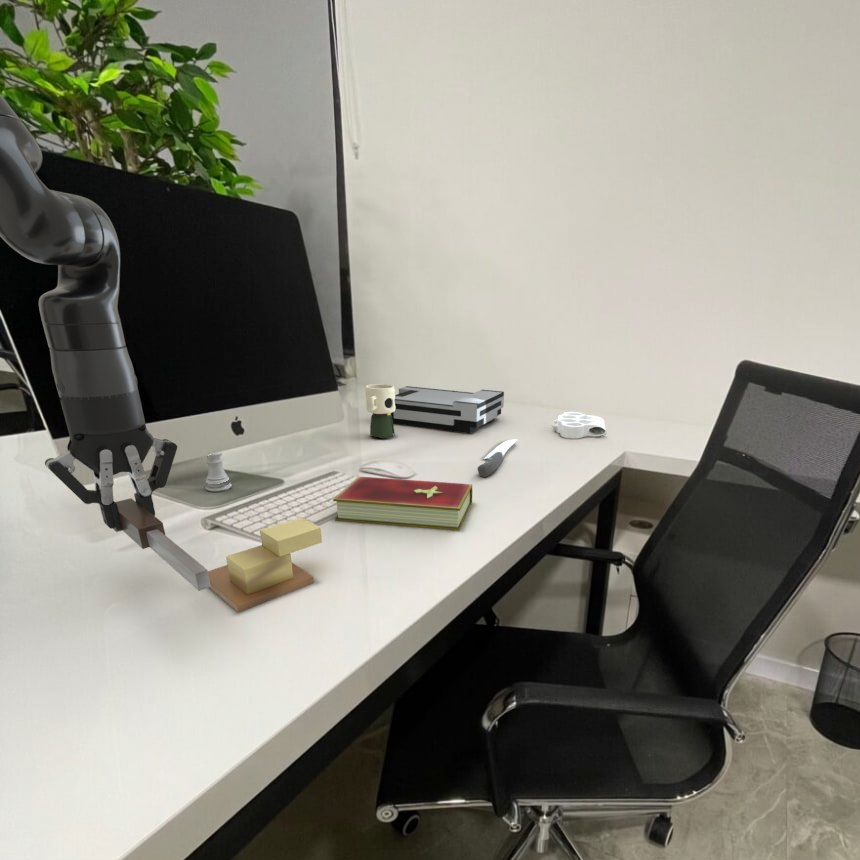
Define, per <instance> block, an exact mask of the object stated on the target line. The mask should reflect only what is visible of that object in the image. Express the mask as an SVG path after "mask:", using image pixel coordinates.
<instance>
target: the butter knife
mask: <svg viewBox="0 0 860 860" xmlns="http://www.w3.org/2000/svg"><path fill="white" fill-rule="evenodd" d="M115 502H116V503H117V506H118V510H119V517H120V521H121V525H122V529H123V530H122V531H123V533H125V535H127V536H128V538H130V539H131V541H133V542H135V544H137V546H139V547H140V548H141V549H142V550H144V549H148V548H150V549H151V550H152V551H153V552H154V553H155V554H156V555H157V556H159V557H160V559H162V560H163V561H165V563H167V564H168V565H169V567H171V568H172V569H173V570H174V571H176V572H177V574H179V575H180V576H181V577H182V578H183V579H184V580H185V581H187V582H188V583H189V584H190V585H191V586H192V587H194V588H195V590H197V591H198V592H200V591H203V590H206V589H208V588H209V587H211V585H210V580H209V575H208V571H209V570H208V569H207V568H206V567H205V566H203V564H201V563H200V562H199V561H198V560H196V559H195V557H194V558H193V556H192V555H190V553H187V552H186V551H185V550H184V549H182V548H181V547H180V545H178V544H177V543H175V542H174V541H173V540H172V539H170V537H168V536H167V535H166V532H165V531H166V530H165V526H164V523H163V522H162V521H161V520H160V519H159V518H157V517H156V515H155V516H153V515H152V514H151V513H150V512H148V511H147V510H146V509H144V508H143V507H142V506H140V505H139V504H138V503H137V502H136V500H135V499H133V498H126V499H121V500H117V501H115ZM122 531H121V532H122ZM209 589H210V588H209Z"/></svg>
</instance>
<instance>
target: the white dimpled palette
mask: <svg viewBox="0 0 860 860" xmlns="http://www.w3.org/2000/svg"><path fill="white" fill-rule="evenodd" d="M552 422H553V423H554V424H552V425H551V427H552V428H554V429H555V432H556V433H558V434H560V437H561V438H564V439H569V440H571V439H572V440H577V439H582V438H585V437H586V438H587V437H590V438H591V437H592V438H595V437H602V436H604V435H605V434H606V432H607V429H606V424H605V419H603V418H602V417H600V416H597V415H591V414H590V415H588V414H584V413H583V412H577V411H565V412H563V413H562V414H559V415H557V416H556V419H554V420H552Z"/></svg>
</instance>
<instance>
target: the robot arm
mask: <svg viewBox="0 0 860 860" xmlns="http://www.w3.org/2000/svg"><path fill="white" fill-rule="evenodd" d="M43 159H44V158H43V151H42V149H41V148H40V145H39V143H38V142H37V140H36V138H35V137H34V136H33V133H32V132H30V130H29V129H28V127H27V126H26V125H25V123H23V121H22V120H21V118H20V117H19V115H18V114H17V113H16V112H15V110H14V109H13V108H12V106H10V104H9V103H8V101H7V100H6V98H5V97H4V96H3V95H2V94H1V93H0V238H1V239H2V240H3V241H4V242H5V243H6V244H7V245H8V246H9V247H10V248H11V249H13V250H14V252H16V253H18V254H20V256H22V257H24V258H26V259H28V260H29V261H32V262H34V263H38V264H42V265H51V266H57V270H58V271H57V285H56V287H55V288H54V289H51V290H49V291H47V292H45V293H43V294H42V295H40V297H39V299H38V308H39V310H38V311H39V314H40V318H41V322H42V326H43V331H44V335H45V338H46V341H47V345H48V348H49V354H50V363H51V370H52V376H53V377H54V378H53V379H54V383H55V386H56V390H57V393H58V397H59V401H60V405H61V409H62V412H63V415H64V416H63V417H64V419H65V423H66V428H67V431H68V434H69V441H68V443H67V446H66V448H67V450H66V451H65V452H63V453H61V454H60V455H58V456H56V457H55V458H53V457H49V458H47V459H46V460H45V461H44V466H45V467H46V468H48V470H49V471H50V472H51V473H53V475H54V476H55V477H56V478H58V480H60V481H61V482H62V483H63V484H64V485H65V486H66V487H67V488H68V489H69V490H70V491H71V492H72V493H73V494H74V495H75V496H76V497H77V498H78V499H79V500H81V502H83V503H84V504H85V505H90V504H98V505H99V508H100V512H101V516H102V520H103V523H104V524H105V525H106V526H107V527H108V528H109V529H110V530H111V529H112V530H114V532H116V533H118V532H122V530H123V529H122V525H121V521H120V517H119V510H118V506H117V503H116V502H117V501H114V500H115V499H114V488H113V487H114V483H115V482H114V476H115V475H117V474H121V473H126V474H127V476H128V477H129V479H130V482H131V484H132V486H133V489H134V491H135V493H133V495H134V501H135V502H137V503H138V504H139V505H140V506H142V507H143V508H144V509H146V510H147V511H148V512H150V513H151V514H152V515H153V516H155V517H156V509H155V505H154V501H153V496H152V495H153V493H154V491H156V490H158V489H163V488H165V486H166V485H167V481H168V479H169V476H170V473H171V469H172V466H173V463H174V460H175V457H176V454H177V450H178V445H177V444H176V443H174V442H173V441H172V440H169V439H167V438H163V439H159V438H155V437H154V436H153V434H152V433H150V431H149V429H148V428H147V426H146V420H145V415H144V411H143V407H142V401H141V396H140V393H139V392H140V391H139V388H138V384H139V382H138V378H137V376H136V373H135V370H134V365H133V362H132V360H131V357H130V355H129V351H128V347H127V343H126V339H125V334H124V330H123V326H122V321H121V317H120V313H119V308H118V306H119V305H118V304H119V296H120V280H121V248H120V241H119V238H118V235H117V232H116V229H115V227H114V225H113V222H112V221H111V219H110V217H109V216H108V214H107V213H106V212H105V211H104V209H103V208H102V207H101V206H100V205H98V204H97V202H94V200H92V199H89V198H87V197H84V196H82V195H78V194H74V193H68V192H63V191H57V190H54V189H49V187H47V185H45V183H43V181H42V180H41V179H40V178H39V176H38V175H37V173H38V172H39V170H40V169H41V167H42V166H43ZM151 448H152V454H153V455H155V457H154V460H153V463H152V466H151V470H150V473H149V475H148V476H149V477H148V476H147V473H146V471H145V468H144V466H143V463H144V461H145V459H146V457H147V456H148V453H149V452H150V450H151ZM75 459H76V460H77V461H79V462H80V463H81V464H82V465H84V466H86V468H88V469H90V470H91V471H92V479H93V483H94V489H87V488H86V487H85V486H84V485H83V484H82V483H81V482H80V480H78V479H77V478H76V477H75V476H74V475H73V473H74V472H75V471H76V466H75V465H74V461H75Z"/></svg>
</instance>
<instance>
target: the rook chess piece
mask: <svg viewBox="0 0 860 860" xmlns="http://www.w3.org/2000/svg"><path fill="white" fill-rule="evenodd" d="M223 454H224V451H223V452H220V453H214V454H211V455H209V456H205V457H206V462H205V463H207V470H208V471H207V476H206V479H205V482H206V483H208V484H220V483H223V482H226V481H228V480H229V478H230V477H229V476H228V474H227V473H226V471H225V468H224V465H223V461H224V459H223V458H222V455H223ZM232 486H233V484H232V483H231V482H230V483H229V484H227V485H224V486H219V487H210V486H207V485H206V486H205V490H206V491H207V492H210V493H222V492H226V491H228V490H230V489H231V488H232Z"/></svg>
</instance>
